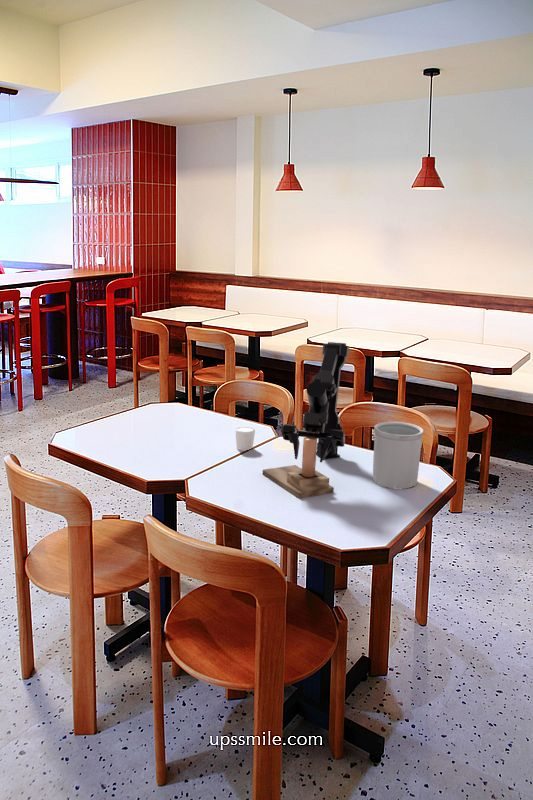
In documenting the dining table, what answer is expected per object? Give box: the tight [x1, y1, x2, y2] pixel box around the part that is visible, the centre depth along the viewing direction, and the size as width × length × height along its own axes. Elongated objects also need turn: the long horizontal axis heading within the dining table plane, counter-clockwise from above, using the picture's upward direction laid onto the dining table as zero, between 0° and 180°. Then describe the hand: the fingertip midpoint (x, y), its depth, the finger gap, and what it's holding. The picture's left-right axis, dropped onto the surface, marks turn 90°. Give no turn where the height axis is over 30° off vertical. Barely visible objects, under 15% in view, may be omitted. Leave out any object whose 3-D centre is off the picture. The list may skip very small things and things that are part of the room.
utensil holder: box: [372, 421, 425, 490], centre depth 210 cm, size 15×15×18 cm
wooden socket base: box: [262, 464, 335, 499], centre depth 207 cm, size 12×22×4 cm, turn 29°
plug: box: [301, 437, 318, 477], centre depth 200 cm, size 4×4×11 cm
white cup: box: [235, 426, 256, 452], centre depth 239 cm, size 7×7×7 cm
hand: (308, 460), depth 199 cm, fingers open, 7 cm apart
